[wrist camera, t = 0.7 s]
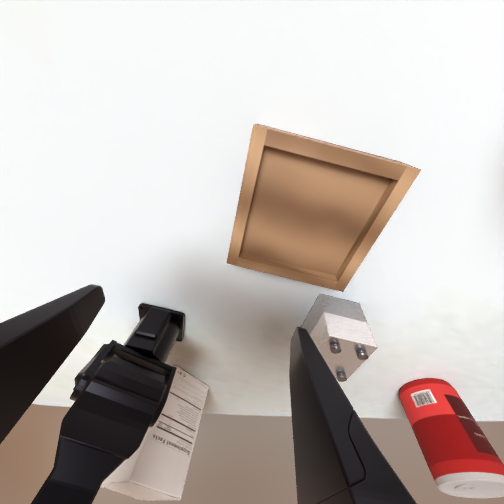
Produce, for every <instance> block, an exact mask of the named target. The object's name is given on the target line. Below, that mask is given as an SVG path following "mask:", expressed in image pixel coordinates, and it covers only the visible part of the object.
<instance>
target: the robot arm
mask: <svg viewBox="0 0 504 504" xmlns="http://www.w3.org/2000/svg"><path fill="white" fill-rule="evenodd" d="M104 302H105V296H104V293H103V289H102V287H101V286H98V285H93V284H92V285H88V286H86V287H83V288H81V289H79V290H76V291H74V292H72V293H69V294H67V295H65V296H62V297H60V298H58V299H55V300H53V301H51V302H49V303H46V304H44V305H42V306H39V307H37V308H35V309H32V310H30V311H28V312H25V313H23V314H21V315H18V316H16V317H14V318H11V319H9V320H7V321H4V322H2V323H0V444H1V442H2V441H3V440H4V439H5V437H6V436H7V435H8V434H9V432H10V431H11V430H12V428H13V427H14V426H15V424H16V423H17V422H18V421H19V419H20V418H21V417H22V415H23V414H24V412H25V411H26V410H27V409H28V407H29V406H30V405H31V404H32V402H33V401H34V400H35V398H36V397H37V396H38V395H39V393H40V392H41V391H42V389H43V388H44V387H45V385H46V384H47V383H48V382H49V380H50V379H51V378H52V376H53V375H54V374H55V372H56V371H57V370H58V369H59V367H60V366H61V365H62V363H63V362H64V361H65V359H66V358H67V357H68V356H69V354H70V353H71V352H72V350H73V349H74V348H75V346H76V345H77V344H78V343H79V341H80V340H81V339H82V337H83V336H84V335H85V333H86V332H87V330H88V328H89V327H90V325H91V324H92V322H93V320H94V319H95V317H96V316H97V314H98V312H99V311H100V309H101V308H102V306H103V304H104ZM138 309H139V317H140V322H139V323H138V325H137V326H136V328H135V329H134V331H133V332H132V333H131V335H130V336H129V338H128V339H127V341H126V342H125V344H124V345H121V344H119V343H117V341H114V340H112V341H111V342H110V344H103V346H102V347H101V348H100V350H99V351H98V352H97V353H96V355H95V356H94V357H93V358H92V359H91V361H90V362H89V363H88V364H87V365H86V366H85V367H84V368H83V369H82V370H81V371H80V372H79V374H78V375H77V376H76V378H75V387H74V389H73V390H74V391H73V393H72V395H71V396H70V399H71V400H74V401H75V402H74V404H73V405H72V407H71V408H70V410H69V411H68V412H67V414H66V415H65V417H64V418H63V421H62V424H61V430H60V435H59V441H58V447H57V451H56V457H55V463H54V468H53V470H52V472H51V473H50V475H49V476H48V478H47V479H46V481H45V483H44V484H43V486H42V487H41V489H40V490H39V492H38V494H37V495H36V497H35V498H34V500H33V501H32V503H31V504H92V502H93V500H94V498H95V496H96V494H97V492H98V490H99V488H100V486H101V484H102V483H103V481H104V480H105V479H106V478H107V477H108V476H109V475H110V474H111V473H112V472H113V471H115V470H116V469H117V468H118V467H119V466H120V465H121V464H122V463H123V462H124V461H125V460H126V459H129V458H130V457H131V456H132V455H133V454H134V452H135V451H136V450H137V449H138V448H139V447H140V445H141V443H142V441H143V438H144V436H145V434H146V432H147V430H148V428H149V427H153V426H154V424H155V423H156V421H157V420H158V418H159V416H160V414H161V412H162V410H163V408H164V406H165V403H166V401H167V398H168V395H169V392H170V388H171V385H172V382H173V379H174V375H175V372H176V369H177V368H176V367H174V366H173V367H172V366H170V365H167V364H165V362H166V360H167V358H168V355H169V353H170V351H171V349H172V347H173V345H174V342H175V341H182V339H183V332H184V314H183V313H181V312H177V311H172V310H168V309H164V308H160V307H155V306H151V305H147V304H140V305H139V306H138ZM289 377H290V394H291V409H292V425H293V439H294V454H295V470H296V485H297V500H298V504H417V503H416V502H415V500H414V499H413V498H412V496H411V495H410V493H409V492H408V491H407V489H406V488H405V486H404V485H403V483H402V482H401V480H400V479H399V477H398V476H397V474H396V473H395V472H394V471H393V469H392V467H391V466H390V465H389V463H388V462H387V460H386V459H385V457H384V456H383V454H382V453H381V451H380V450H379V448H378V447H377V445H376V444H375V443H374V441H373V439H372V438H371V436H370V435H369V433H368V431H367V430H366V428H365V427H364V425H363V423H362V422H361V420H360V418H359V417H358V415H357V413H356V412H355V410H353V407H352V405H351V403H350V402H349V400H348V398H347V397H346V395H345V393H344V392H343V390H342V388H341V387H340V385H339V383H338V382H337V380H336V378H335V377H334V375H333V373H332V372H331V370H330V368H329V366H328V365H327V363H326V361H325V360H324V358H323V356H322V355H321V353H320V351H319V350H318V348H317V346H316V345H315V343H314V341H313V340H312V338H311V336H310V335H309V333H308V331H307V330H306V329H305V328H301V327H297V328H296V329H295V332H294V334H293V336H292V338H291V349H290V374H289Z"/></svg>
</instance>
